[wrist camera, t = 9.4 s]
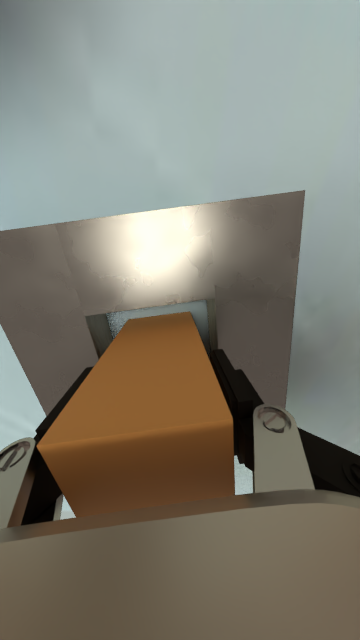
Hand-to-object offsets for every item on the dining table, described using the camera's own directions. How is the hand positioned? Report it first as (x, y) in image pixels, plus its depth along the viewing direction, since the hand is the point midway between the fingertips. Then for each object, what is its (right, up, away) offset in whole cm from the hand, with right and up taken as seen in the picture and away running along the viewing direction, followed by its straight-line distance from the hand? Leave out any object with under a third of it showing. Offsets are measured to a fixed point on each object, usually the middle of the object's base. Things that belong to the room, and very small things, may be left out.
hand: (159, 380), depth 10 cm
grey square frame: (0, +2, +5) cm, 5 cm away
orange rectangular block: (0, +2, +5) cm, 5 cm away
